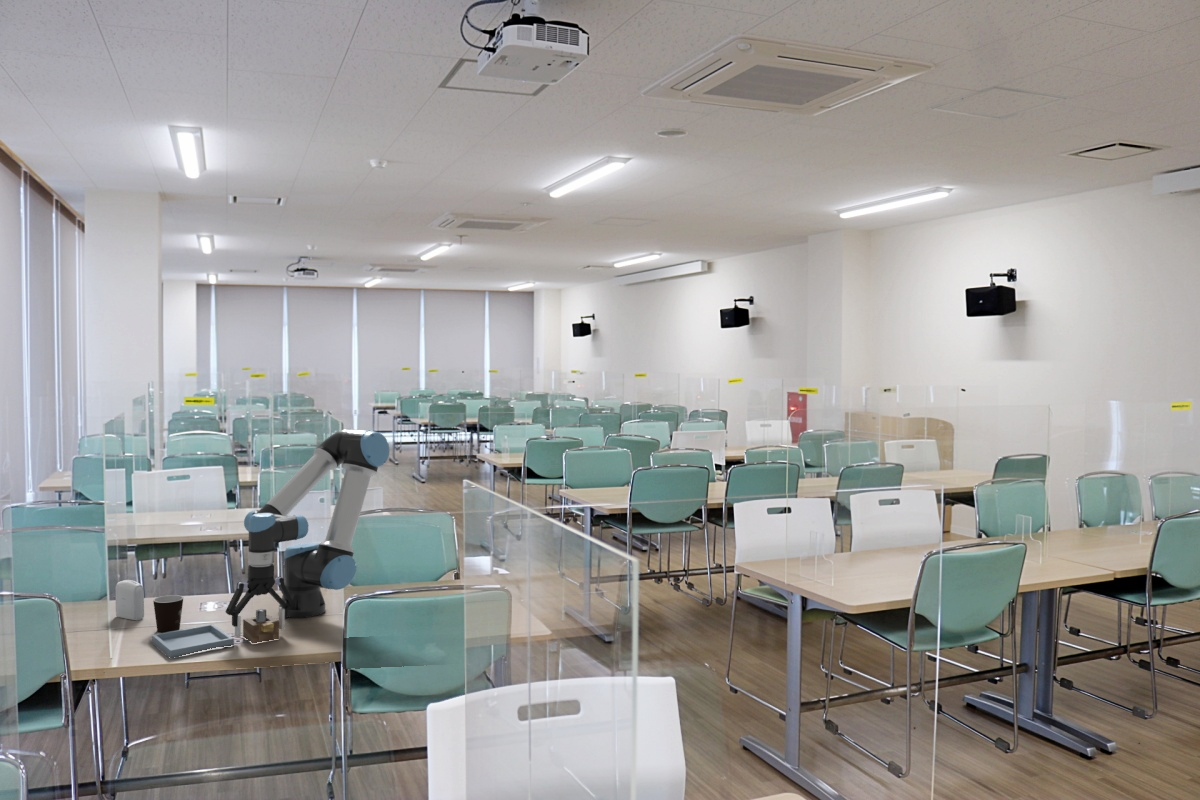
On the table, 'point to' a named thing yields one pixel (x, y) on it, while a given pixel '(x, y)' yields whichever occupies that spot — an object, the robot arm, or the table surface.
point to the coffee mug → (168, 612)
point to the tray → (191, 640)
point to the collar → (261, 629)
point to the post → (260, 615)
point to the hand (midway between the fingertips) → (259, 632)
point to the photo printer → (129, 600)
